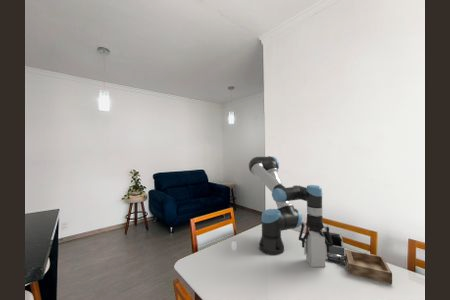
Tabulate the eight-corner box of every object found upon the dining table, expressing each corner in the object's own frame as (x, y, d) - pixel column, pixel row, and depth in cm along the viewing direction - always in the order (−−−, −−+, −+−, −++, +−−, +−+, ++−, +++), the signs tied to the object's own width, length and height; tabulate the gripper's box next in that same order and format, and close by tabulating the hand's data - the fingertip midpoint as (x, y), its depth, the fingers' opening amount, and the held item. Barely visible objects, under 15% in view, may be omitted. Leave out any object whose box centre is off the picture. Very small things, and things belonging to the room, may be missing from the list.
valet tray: (314, 250, 114) (314, 242, 114) (315, 236, 132) (315, 229, 132) (344, 256, 107) (344, 248, 107) (341, 241, 125) (340, 233, 125)
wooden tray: (349, 273, 92) (348, 263, 92) (345, 258, 106) (345, 249, 106) (392, 284, 85) (392, 273, 85) (382, 265, 98) (382, 256, 98)
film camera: (339, 243, 122) (339, 229, 122) (342, 251, 113) (343, 236, 113) (313, 239, 127) (313, 226, 127) (315, 246, 118) (315, 232, 118)
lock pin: (324, 258, 104) (324, 252, 104) (324, 255, 107) (324, 249, 107) (345, 263, 99) (345, 256, 100) (345, 260, 103) (344, 253, 103)
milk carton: (325, 267, 98) (324, 230, 98) (311, 267, 98) (311, 230, 98) (318, 259, 105) (318, 225, 105) (306, 259, 105) (305, 225, 105)
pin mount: (327, 262, 102) (327, 255, 102) (327, 256, 108) (327, 250, 108) (345, 265, 99) (344, 259, 99) (343, 260, 104) (343, 253, 104)
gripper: (292, 213, 103) (293, 254, 103) (338, 219, 93) (339, 264, 93) (294, 209, 110) (294, 247, 110) (337, 215, 100) (338, 257, 100)
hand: (315, 255), depth 101 cm, fingers closed on milk carton, 9 cm apart
